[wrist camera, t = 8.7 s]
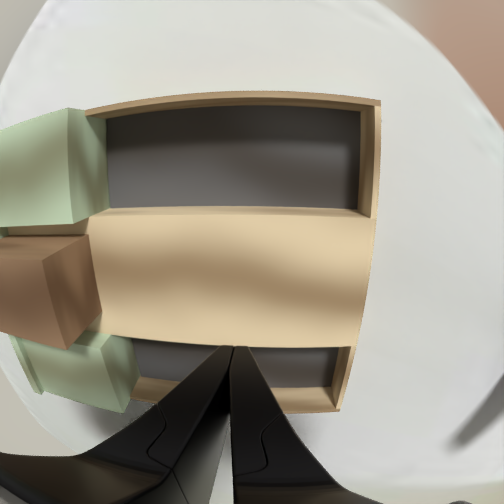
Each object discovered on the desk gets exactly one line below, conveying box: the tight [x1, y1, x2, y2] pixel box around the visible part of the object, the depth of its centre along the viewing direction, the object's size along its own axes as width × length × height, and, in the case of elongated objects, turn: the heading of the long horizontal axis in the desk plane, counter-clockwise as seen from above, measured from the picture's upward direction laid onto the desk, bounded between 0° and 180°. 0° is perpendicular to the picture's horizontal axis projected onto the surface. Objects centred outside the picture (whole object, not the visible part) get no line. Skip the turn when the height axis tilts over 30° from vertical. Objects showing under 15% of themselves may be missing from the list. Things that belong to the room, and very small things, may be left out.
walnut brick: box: [0, 234, 102, 350], centre depth 13 cm, size 4×7×4 cm, turn 90°
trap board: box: [0, 91, 381, 414], centre depth 15 cm, size 18×22×4 cm
